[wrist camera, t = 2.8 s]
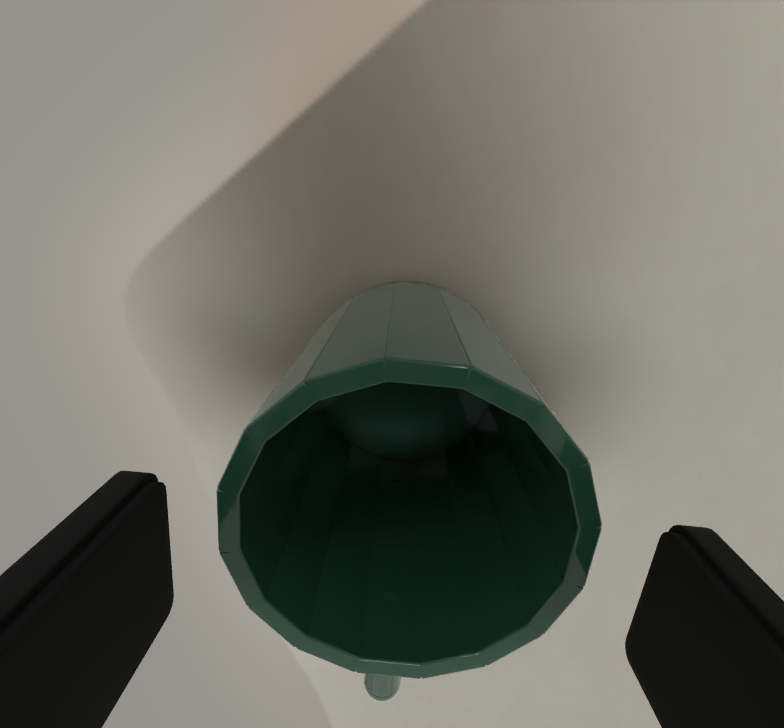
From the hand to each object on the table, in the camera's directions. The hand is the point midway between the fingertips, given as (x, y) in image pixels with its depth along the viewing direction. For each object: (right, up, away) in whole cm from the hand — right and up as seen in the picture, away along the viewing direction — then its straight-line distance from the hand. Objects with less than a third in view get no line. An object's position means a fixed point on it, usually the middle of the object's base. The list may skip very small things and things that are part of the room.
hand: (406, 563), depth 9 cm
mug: (0, +2, +9) cm, 9 cm away
